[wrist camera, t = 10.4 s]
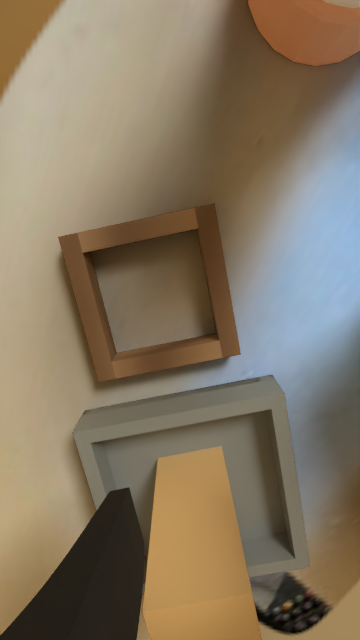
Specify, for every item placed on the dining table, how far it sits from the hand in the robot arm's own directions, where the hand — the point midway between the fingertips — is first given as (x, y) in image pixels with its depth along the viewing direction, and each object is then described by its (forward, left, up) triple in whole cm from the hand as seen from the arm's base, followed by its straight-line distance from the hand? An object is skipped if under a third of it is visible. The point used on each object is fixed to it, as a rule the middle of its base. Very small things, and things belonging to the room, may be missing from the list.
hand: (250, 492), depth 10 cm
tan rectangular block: (+3, +7, -10) cm, 12 cm away
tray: (+3, +7, -10) cm, 13 cm away
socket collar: (+3, -5, -10) cm, 12 cm away
